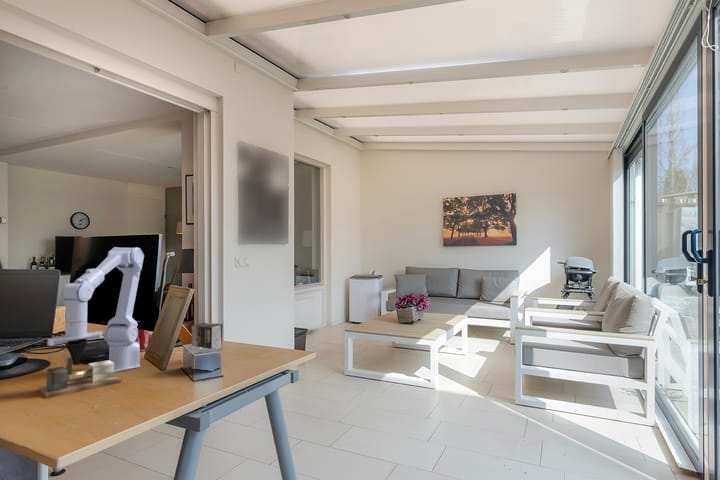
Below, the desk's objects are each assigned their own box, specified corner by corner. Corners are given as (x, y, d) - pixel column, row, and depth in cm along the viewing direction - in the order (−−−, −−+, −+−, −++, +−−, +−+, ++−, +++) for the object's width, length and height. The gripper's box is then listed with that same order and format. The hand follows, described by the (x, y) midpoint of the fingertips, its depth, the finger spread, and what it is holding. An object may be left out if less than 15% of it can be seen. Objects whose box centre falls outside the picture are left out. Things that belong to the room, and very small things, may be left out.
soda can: (142, 352, 175) (143, 323, 175) (131, 351, 176) (132, 322, 176) (151, 349, 180) (151, 321, 180) (140, 348, 181) (141, 320, 182)
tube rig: (111, 375, 144) (111, 356, 144) (121, 382, 137) (121, 362, 137) (39, 389, 129) (39, 368, 129) (46, 398, 122) (46, 375, 123)
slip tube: (89, 376, 136) (89, 353, 136) (91, 378, 134) (92, 355, 134) (55, 383, 129) (56, 359, 129) (57, 385, 127) (58, 360, 127)
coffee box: (222, 367, 155) (223, 323, 155) (211, 372, 149) (212, 326, 149) (202, 364, 158) (203, 322, 158) (190, 369, 152) (191, 325, 152)
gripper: (96, 316, 140) (95, 357, 140) (44, 322, 129) (43, 367, 129) (105, 319, 136) (104, 361, 136) (52, 325, 124) (51, 371, 124)
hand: (75, 364), depth 132 cm, fingers closed
